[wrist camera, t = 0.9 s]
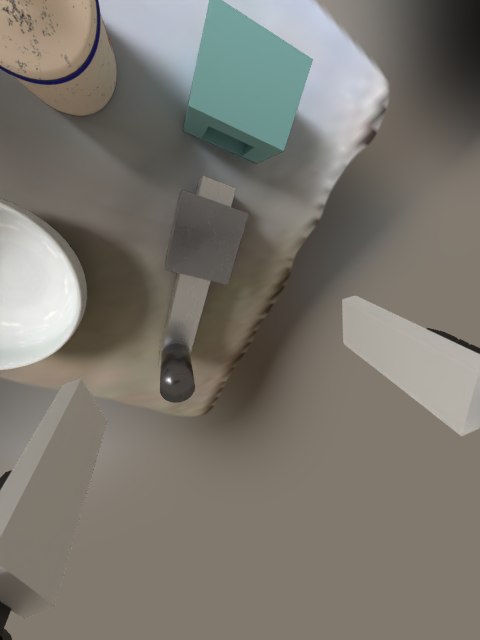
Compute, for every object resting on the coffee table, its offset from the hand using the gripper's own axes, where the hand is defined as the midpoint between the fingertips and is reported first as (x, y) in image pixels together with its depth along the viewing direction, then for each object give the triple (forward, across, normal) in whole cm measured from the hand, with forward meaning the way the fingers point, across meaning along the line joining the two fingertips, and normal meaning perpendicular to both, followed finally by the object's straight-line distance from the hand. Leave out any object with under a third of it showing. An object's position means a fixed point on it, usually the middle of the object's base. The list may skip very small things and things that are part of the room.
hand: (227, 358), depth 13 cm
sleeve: (+24, +2, +3) cm, 24 cm away
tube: (+22, 0, -1) cm, 23 cm away
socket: (+24, +9, +15) cm, 29 cm away
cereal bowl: (+24, -19, +4) cm, 31 cm away
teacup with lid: (+24, -7, +22) cm, 33 cm away
